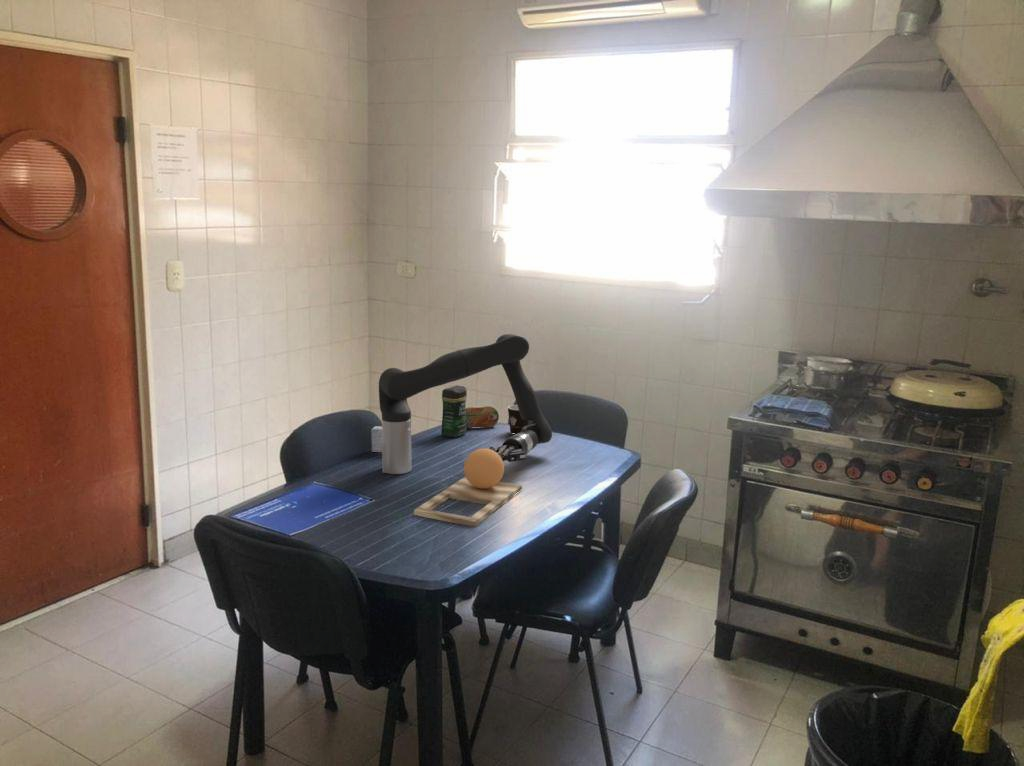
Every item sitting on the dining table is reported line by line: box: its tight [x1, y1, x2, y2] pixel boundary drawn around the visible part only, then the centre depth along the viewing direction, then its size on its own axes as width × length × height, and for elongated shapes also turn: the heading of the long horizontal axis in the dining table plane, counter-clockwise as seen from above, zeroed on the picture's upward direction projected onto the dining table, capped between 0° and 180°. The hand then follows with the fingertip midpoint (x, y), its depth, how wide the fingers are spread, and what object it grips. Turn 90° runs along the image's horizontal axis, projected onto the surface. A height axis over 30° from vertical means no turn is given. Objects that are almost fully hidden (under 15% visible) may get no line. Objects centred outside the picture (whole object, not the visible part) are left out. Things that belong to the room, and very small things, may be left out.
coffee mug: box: [507, 404, 535, 434], centre depth 304 cm, size 12×9×10 cm
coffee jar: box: [441, 385, 468, 438], centre depth 300 cm, size 10×8×19 cm
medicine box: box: [370, 425, 382, 453], centre depth 279 cm, size 8×4×9 cm, turn 84°
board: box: [413, 476, 523, 527], centre depth 234 cm, size 32×19×2 cm, turn 156°
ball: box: [463, 448, 505, 489], centre depth 241 cm, size 12×12×12 cm
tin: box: [466, 405, 500, 429], centre depth 312 cm, size 15×3×8 cm, turn 105°
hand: (495, 460), depth 248 cm, fingers closed
